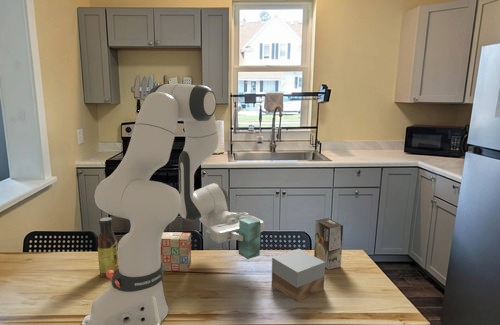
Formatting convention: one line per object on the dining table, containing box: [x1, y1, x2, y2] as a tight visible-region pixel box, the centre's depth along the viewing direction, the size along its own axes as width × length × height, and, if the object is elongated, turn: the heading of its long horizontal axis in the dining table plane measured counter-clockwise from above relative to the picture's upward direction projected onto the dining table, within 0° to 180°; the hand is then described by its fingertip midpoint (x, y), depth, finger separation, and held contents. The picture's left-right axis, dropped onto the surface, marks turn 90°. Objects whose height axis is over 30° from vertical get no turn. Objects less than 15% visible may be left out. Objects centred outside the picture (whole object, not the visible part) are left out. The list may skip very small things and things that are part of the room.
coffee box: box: [313, 217, 344, 270], centre depth 126 cm, size 9×6×16 cm
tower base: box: [271, 271, 325, 303], centre depth 110 cm, size 12×12×5 cm
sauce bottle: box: [96, 216, 119, 278], centre depth 116 cm, size 7×6×20 cm
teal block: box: [238, 217, 261, 260], centre depth 112 cm, size 5×5×12 cm
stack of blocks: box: [161, 231, 192, 272], centre depth 122 cm, size 21×6×12 cm, turn 89°
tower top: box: [271, 248, 326, 288], centre depth 109 cm, size 12×12×5 cm
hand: (251, 236), depth 111 cm, fingers closed on teal block, 5 cm apart
